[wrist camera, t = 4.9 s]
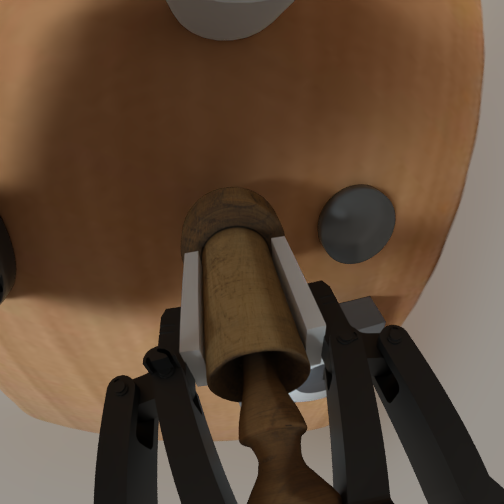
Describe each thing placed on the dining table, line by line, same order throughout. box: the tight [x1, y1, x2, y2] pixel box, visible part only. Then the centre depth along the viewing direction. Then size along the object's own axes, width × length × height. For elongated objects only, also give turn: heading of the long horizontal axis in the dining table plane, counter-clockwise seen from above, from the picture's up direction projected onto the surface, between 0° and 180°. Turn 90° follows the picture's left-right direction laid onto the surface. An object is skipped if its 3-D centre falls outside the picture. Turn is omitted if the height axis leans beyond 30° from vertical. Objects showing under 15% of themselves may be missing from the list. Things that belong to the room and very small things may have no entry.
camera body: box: [239, 296, 386, 407], centre depth 29 cm, size 16×13×5 cm
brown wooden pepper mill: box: [181, 187, 343, 504], centre depth 11 cm, size 7×6×18 cm
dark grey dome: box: [318, 184, 395, 264], centre depth 22 cm, size 7×7×1 cm
